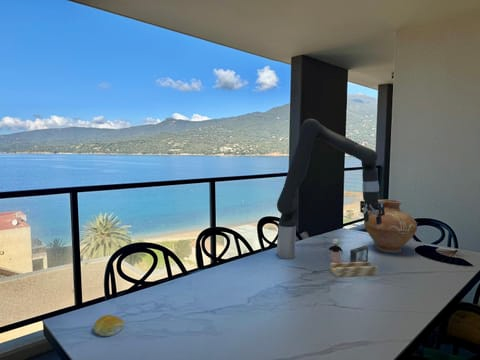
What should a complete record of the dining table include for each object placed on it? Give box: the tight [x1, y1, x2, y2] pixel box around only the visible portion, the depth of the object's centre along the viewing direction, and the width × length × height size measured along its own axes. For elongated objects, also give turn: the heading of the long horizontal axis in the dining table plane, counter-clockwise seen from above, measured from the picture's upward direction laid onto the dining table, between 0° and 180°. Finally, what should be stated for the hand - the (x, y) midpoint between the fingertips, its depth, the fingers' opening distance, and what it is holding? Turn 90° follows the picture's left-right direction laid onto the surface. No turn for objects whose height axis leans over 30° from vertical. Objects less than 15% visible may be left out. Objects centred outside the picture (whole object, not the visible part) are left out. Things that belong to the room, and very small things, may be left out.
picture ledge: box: [329, 261, 379, 278], centre depth 151 cm, size 20×8×4 cm, turn 98°
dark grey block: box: [349, 245, 369, 262], centre depth 164 cm, size 12×3×8 cm, turn 127°
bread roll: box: [93, 314, 125, 337], centre depth 101 cm, size 8×9×4 cm
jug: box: [363, 199, 418, 254], centre depth 186 cm, size 28×28×30 cm
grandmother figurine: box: [327, 238, 344, 263], centre depth 164 cm, size 8×4×13 cm, turn 84°
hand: (372, 222), depth 158 cm, fingers open, 8 cm apart
